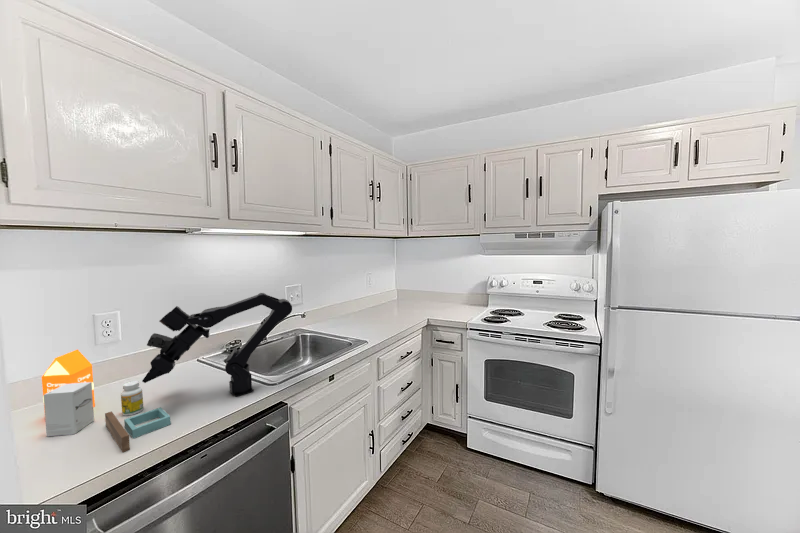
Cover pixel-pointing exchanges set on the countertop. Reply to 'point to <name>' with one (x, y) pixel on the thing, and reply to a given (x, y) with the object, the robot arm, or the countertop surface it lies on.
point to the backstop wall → (117, 431)
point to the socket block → (149, 426)
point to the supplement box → (68, 408)
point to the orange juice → (67, 372)
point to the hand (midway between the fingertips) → (147, 376)
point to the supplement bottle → (131, 398)
